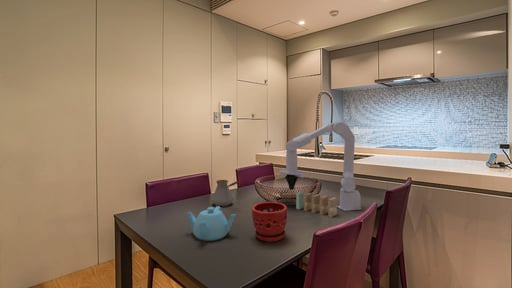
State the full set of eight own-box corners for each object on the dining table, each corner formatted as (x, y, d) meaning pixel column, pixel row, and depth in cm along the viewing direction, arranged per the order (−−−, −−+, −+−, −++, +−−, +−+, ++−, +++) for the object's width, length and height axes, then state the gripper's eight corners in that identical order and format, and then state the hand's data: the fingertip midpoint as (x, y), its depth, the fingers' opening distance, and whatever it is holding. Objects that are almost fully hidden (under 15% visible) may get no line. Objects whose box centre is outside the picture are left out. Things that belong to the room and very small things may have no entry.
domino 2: (311, 212, 137) (311, 196, 136) (317, 210, 140) (317, 194, 140) (314, 213, 136) (314, 196, 135) (320, 210, 139) (320, 194, 139)
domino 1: (303, 210, 140) (303, 194, 139) (309, 208, 144) (309, 192, 143) (306, 211, 139) (306, 195, 138) (312, 208, 142) (312, 193, 142)
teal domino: (296, 208, 143) (296, 193, 142) (301, 206, 147) (301, 191, 146) (298, 209, 142) (298, 193, 141) (304, 207, 146) (304, 191, 145)
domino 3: (319, 214, 134) (319, 197, 133) (325, 211, 137) (325, 195, 137) (322, 215, 133) (322, 198, 132) (328, 212, 136) (328, 196, 136)
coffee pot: (207, 204, 153) (207, 176, 152) (225, 200, 160) (225, 174, 159) (230, 213, 136) (229, 182, 135) (248, 209, 144) (248, 179, 143)
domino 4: (328, 216, 131) (328, 199, 130) (333, 213, 134) (333, 197, 134) (331, 217, 130) (331, 200, 129) (336, 214, 133) (336, 197, 133)
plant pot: (254, 230, 114) (254, 201, 114) (287, 231, 113) (286, 201, 112) (250, 244, 102) (249, 211, 101) (287, 245, 100) (287, 211, 99)
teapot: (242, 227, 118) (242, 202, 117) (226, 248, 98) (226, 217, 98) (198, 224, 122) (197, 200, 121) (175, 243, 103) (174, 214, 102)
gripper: (276, 163, 149) (276, 188, 150) (298, 165, 139) (298, 192, 140) (284, 161, 154) (284, 186, 155) (306, 164, 144) (306, 190, 145)
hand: (291, 189), depth 148 cm, fingers closed
